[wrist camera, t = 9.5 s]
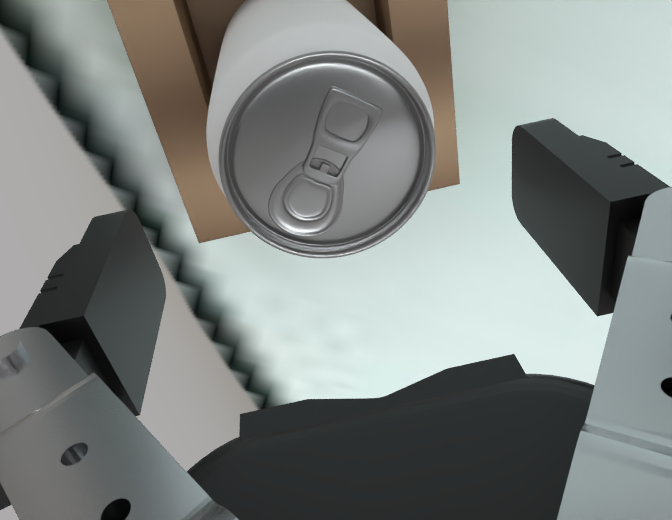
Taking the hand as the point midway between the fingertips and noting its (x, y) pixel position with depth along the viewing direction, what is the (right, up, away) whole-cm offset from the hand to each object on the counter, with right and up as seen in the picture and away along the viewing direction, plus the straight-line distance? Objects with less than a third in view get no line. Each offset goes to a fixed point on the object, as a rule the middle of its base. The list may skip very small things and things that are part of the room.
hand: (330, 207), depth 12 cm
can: (-2, +8, +13) cm, 15 cm away
